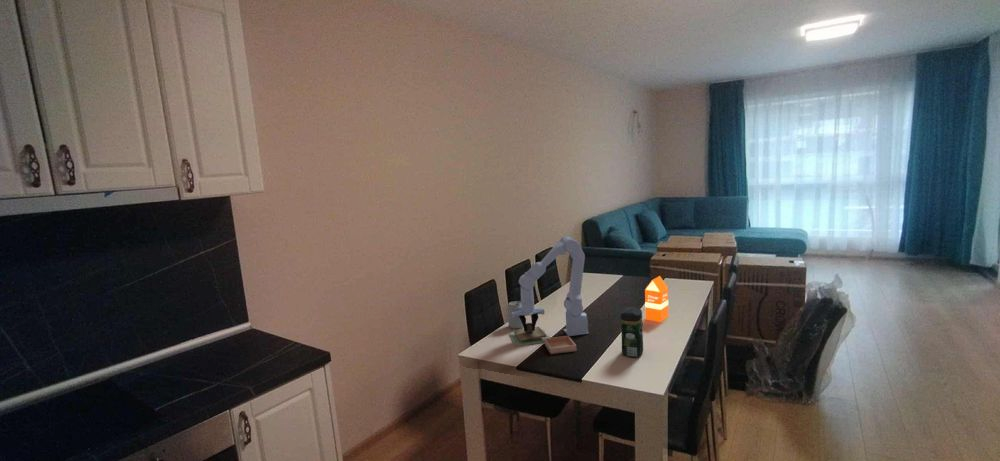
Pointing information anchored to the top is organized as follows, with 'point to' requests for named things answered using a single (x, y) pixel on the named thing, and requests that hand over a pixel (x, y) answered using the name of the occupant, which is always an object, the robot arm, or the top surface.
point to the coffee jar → (632, 332)
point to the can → (516, 321)
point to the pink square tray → (560, 344)
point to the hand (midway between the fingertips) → (529, 330)
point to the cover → (529, 333)
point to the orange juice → (656, 300)
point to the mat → (526, 342)
